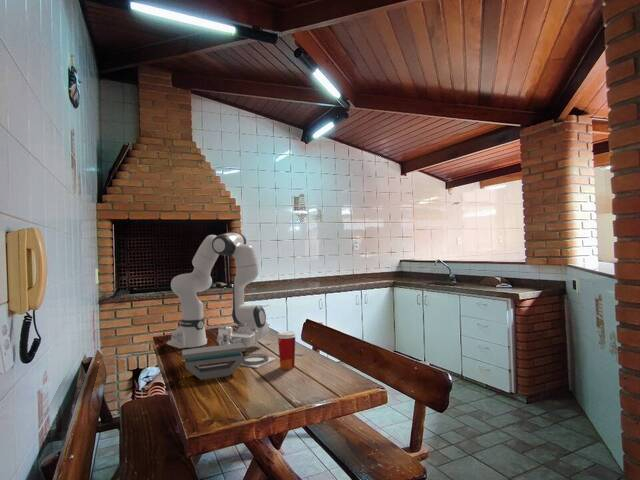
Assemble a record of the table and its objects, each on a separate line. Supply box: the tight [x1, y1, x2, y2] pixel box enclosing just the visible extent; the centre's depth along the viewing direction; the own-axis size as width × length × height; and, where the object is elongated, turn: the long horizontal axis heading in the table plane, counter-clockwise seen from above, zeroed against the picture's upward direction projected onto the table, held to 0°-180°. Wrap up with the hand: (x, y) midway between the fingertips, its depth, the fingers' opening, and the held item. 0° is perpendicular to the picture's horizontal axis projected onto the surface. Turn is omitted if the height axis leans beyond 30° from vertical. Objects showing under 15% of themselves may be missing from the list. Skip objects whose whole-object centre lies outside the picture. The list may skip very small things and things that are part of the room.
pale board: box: [239, 356, 278, 369], centre depth 175 cm, size 14×14×1 cm
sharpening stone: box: [181, 343, 247, 381], centre depth 159 cm, size 25×8×11 cm, turn 112°
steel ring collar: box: [242, 353, 270, 365], centre depth 175 cm, size 12×12×1 cm
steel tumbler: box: [217, 325, 234, 346], centre depth 180 cm, size 7×7×15 cm
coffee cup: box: [277, 330, 297, 371], centre depth 166 cm, size 8×8×15 cm
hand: (224, 341), depth 179 cm, fingers open, 8 cm apart
